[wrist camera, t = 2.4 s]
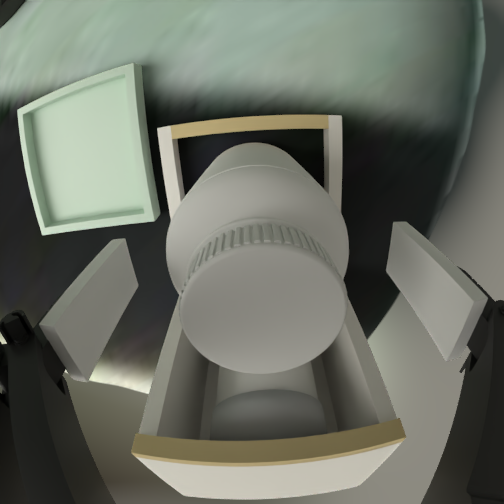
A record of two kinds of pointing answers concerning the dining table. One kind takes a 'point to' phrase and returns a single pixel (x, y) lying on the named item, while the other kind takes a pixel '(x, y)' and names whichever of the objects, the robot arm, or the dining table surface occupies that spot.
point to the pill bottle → (259, 262)
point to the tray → (90, 153)
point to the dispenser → (265, 386)
